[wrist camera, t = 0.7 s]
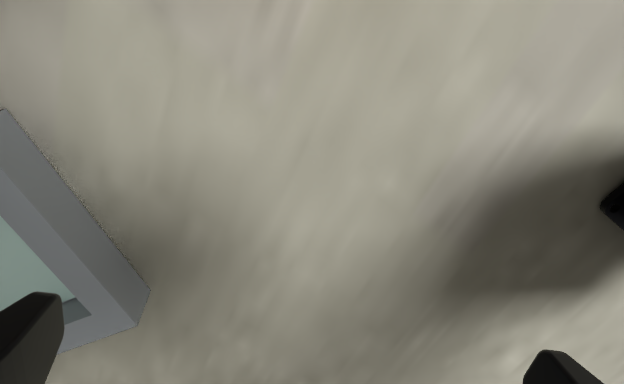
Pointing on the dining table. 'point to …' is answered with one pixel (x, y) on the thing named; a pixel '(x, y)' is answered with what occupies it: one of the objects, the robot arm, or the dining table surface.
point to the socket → (59, 247)
